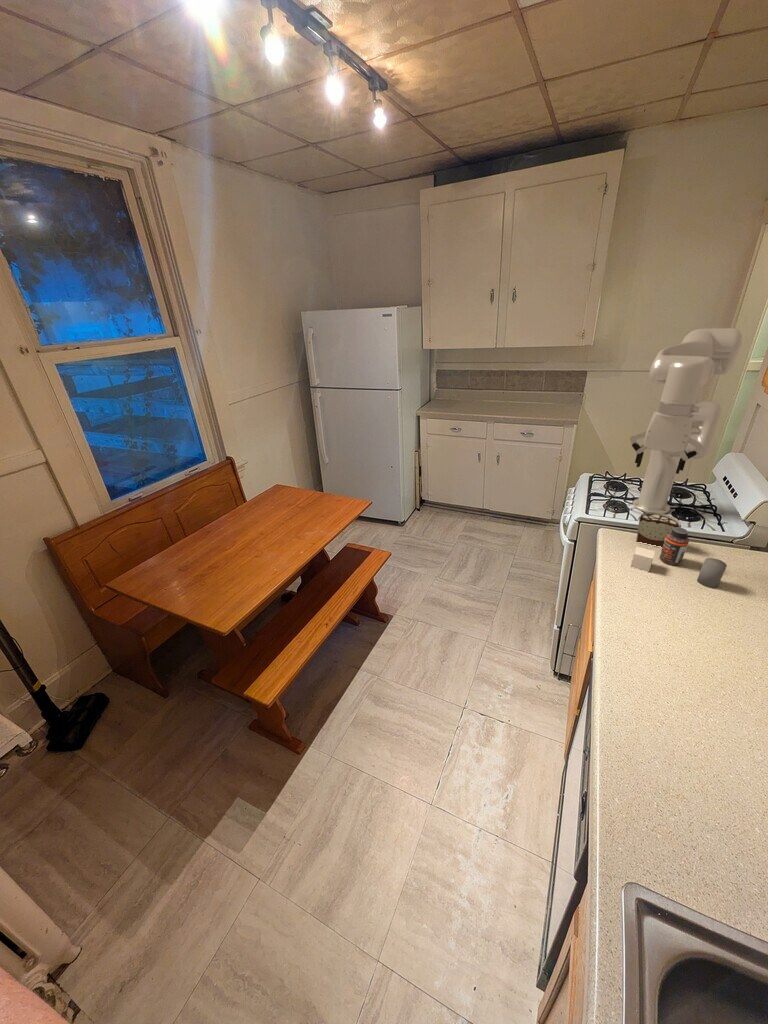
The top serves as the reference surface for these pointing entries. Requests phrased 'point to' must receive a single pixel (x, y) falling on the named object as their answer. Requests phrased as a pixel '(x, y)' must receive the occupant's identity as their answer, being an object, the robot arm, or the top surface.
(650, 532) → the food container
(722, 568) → the gray cylinder
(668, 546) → the supplement bottle
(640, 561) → the off-white block
